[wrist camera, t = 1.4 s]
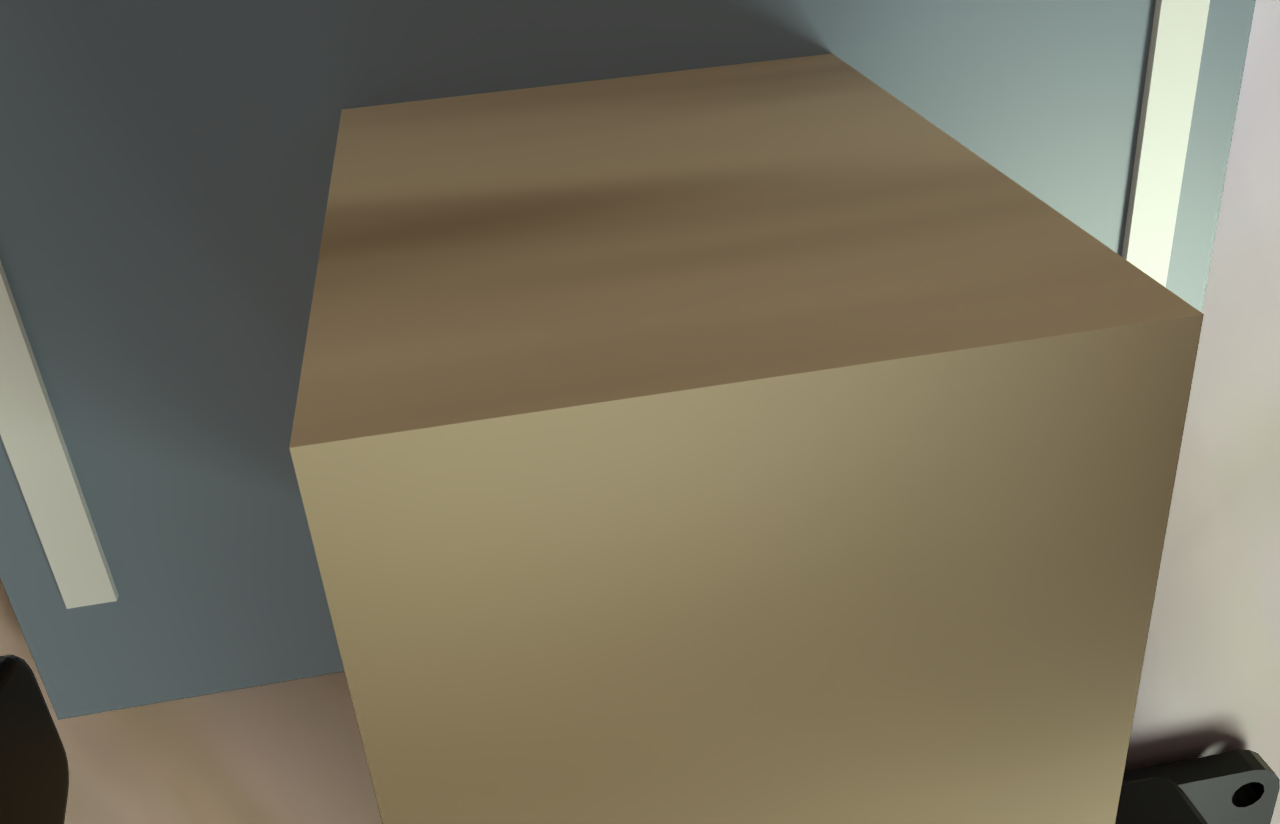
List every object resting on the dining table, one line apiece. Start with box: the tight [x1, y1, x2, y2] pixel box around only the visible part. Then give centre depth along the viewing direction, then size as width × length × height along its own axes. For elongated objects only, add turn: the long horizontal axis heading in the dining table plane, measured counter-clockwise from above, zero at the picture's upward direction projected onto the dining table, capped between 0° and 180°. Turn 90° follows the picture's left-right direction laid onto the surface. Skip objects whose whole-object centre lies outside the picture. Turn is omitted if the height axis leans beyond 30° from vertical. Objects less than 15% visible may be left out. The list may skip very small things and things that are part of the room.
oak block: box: [289, 53, 1204, 824], centre depth 9 cm, size 4×4×6 cm
